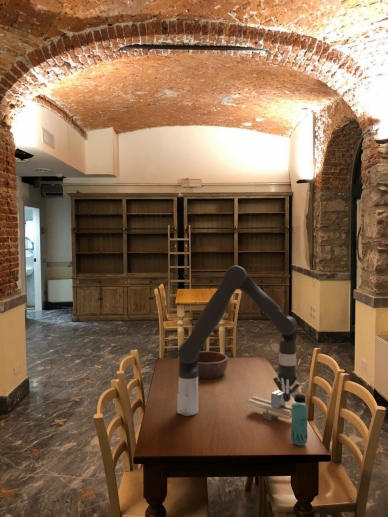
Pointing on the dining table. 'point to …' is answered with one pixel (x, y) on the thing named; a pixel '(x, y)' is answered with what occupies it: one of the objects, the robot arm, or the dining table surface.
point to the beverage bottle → (299, 421)
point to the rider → (277, 399)
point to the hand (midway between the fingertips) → (286, 401)
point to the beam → (269, 409)
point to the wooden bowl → (211, 364)
